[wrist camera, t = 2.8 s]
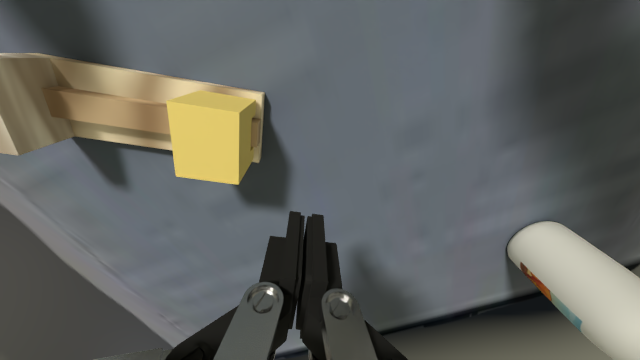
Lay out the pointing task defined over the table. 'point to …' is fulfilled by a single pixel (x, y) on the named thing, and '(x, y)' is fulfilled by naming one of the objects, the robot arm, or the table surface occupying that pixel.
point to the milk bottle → (582, 285)
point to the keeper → (211, 136)
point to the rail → (138, 90)
